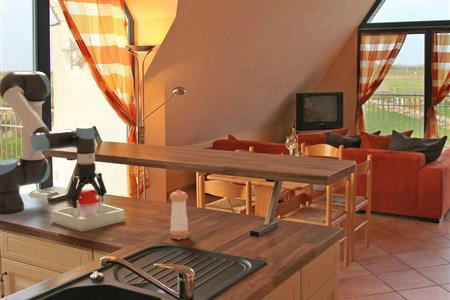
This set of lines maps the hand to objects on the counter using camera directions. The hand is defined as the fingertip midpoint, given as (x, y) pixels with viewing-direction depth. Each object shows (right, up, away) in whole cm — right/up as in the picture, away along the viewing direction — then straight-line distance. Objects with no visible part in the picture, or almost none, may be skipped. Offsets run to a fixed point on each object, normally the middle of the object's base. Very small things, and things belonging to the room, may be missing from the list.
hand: (88, 212), depth 252 cm
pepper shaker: (+42, -7, -24) cm, 49 cm away
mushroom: (0, -2, 0) cm, 2 cm away
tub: (0, -4, +1) cm, 4 cm away
